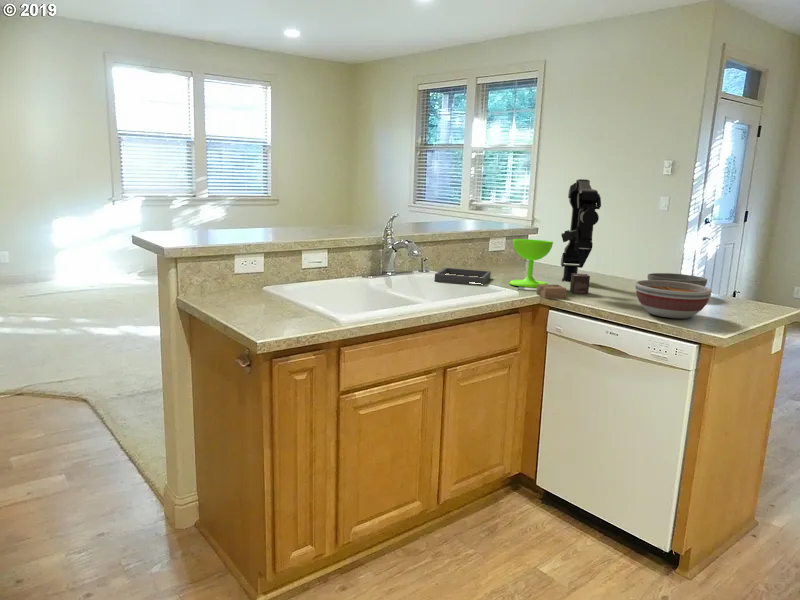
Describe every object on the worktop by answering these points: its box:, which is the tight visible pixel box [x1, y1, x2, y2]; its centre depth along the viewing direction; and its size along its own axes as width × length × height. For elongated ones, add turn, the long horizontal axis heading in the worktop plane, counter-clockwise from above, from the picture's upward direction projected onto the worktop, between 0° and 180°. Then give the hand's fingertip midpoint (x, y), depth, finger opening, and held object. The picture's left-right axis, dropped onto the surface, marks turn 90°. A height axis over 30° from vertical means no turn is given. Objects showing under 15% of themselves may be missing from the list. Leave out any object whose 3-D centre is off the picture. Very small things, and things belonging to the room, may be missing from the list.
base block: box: [536, 284, 567, 299], centre depth 226 cm, size 8×8×4 cm
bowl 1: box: [647, 272, 708, 287], centre depth 236 cm, size 21×21×8 cm
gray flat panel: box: [517, 286, 537, 293], centre depth 239 cm, size 10×14×1 cm
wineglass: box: [508, 238, 554, 288], centre depth 246 cm, size 16×16×18 cm
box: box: [569, 272, 591, 295], centre depth 234 cm, size 6×6×7 cm
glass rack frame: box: [434, 267, 492, 285], centre depth 255 cm, size 20×20×3 cm
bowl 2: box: [635, 279, 712, 319], centre depth 200 cm, size 23×23×10 cm
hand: (581, 264), depth 233 cm, fingers open, 9 cm apart
